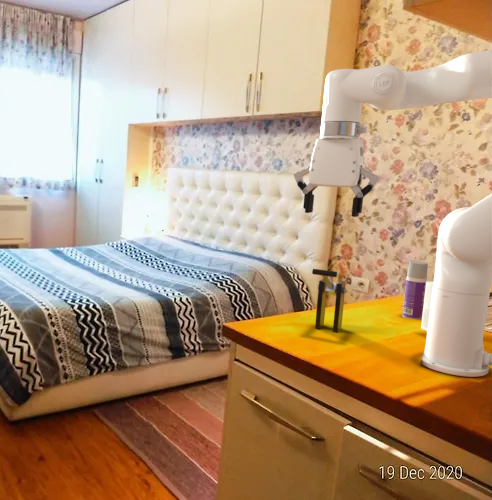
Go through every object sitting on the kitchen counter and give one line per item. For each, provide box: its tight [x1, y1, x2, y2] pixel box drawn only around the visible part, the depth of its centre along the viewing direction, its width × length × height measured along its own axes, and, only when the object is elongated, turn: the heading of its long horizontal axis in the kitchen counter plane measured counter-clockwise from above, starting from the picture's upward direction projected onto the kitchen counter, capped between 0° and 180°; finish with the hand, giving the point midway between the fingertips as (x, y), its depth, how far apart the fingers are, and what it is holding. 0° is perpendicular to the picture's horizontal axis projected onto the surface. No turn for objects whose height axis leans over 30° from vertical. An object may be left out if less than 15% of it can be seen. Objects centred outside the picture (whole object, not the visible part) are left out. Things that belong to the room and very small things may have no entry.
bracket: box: [314, 277, 347, 334], centre depth 119 cm, size 10×8×13 cm
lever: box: [311, 268, 338, 297], centre depth 114 cm, size 12×5×2 cm, turn 147°
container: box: [401, 260, 429, 321], centre depth 136 cm, size 5×5×15 cm
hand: (331, 214), depth 109 cm, fingers open, 9 cm apart
